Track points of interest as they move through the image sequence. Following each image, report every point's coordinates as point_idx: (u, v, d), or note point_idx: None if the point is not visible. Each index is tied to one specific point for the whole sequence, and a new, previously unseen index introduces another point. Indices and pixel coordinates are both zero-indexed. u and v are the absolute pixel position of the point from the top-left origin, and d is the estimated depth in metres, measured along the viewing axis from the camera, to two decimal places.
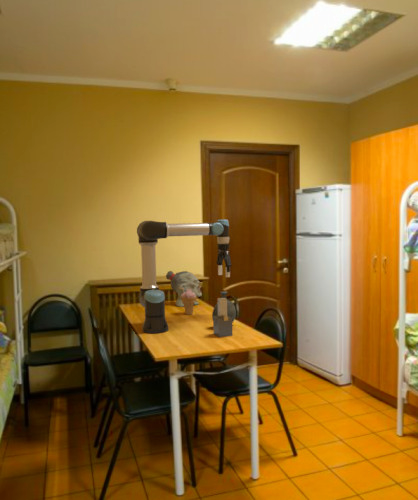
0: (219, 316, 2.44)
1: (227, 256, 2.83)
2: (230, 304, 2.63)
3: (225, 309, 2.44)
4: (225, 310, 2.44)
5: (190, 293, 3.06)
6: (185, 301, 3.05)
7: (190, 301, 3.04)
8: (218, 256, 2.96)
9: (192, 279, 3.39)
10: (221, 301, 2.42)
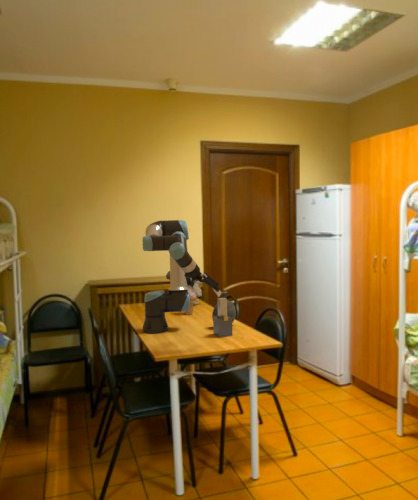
0: (219, 316, 2.44)
1: None
2: (230, 304, 2.63)
3: (225, 309, 2.44)
4: (225, 310, 2.44)
5: (190, 293, 3.06)
6: None
7: (190, 301, 3.04)
8: None
9: None
10: (221, 301, 2.42)
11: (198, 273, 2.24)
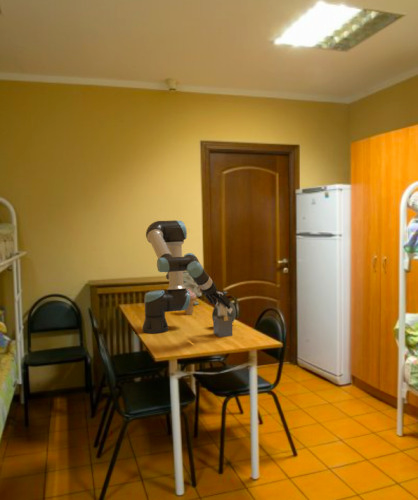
0: (219, 316, 2.44)
1: None
2: (230, 304, 2.63)
3: (225, 309, 2.44)
4: (225, 310, 2.44)
5: (190, 293, 3.06)
6: None
7: (190, 301, 3.04)
8: None
9: (192, 279, 3.39)
10: None
11: (214, 290, 2.34)
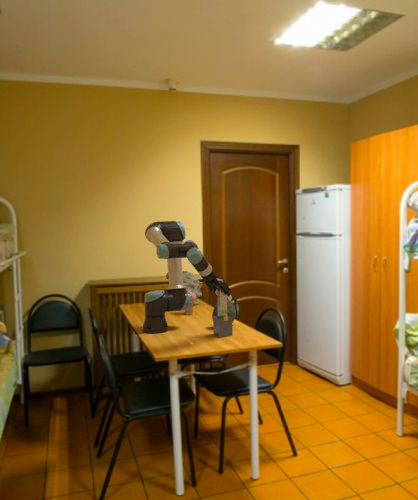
0: (219, 303, 2.44)
1: None
2: (230, 304, 2.63)
3: (225, 296, 2.43)
4: (225, 297, 2.43)
5: (190, 293, 3.06)
6: None
7: (190, 301, 3.04)
8: None
9: (192, 279, 3.39)
10: None
11: (214, 277, 2.33)
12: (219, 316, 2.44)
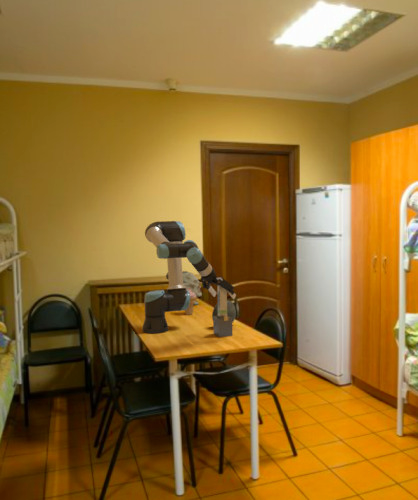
0: (219, 303, 2.44)
1: None
2: (230, 304, 2.63)
3: (225, 296, 2.43)
4: (225, 297, 2.43)
5: (190, 293, 3.06)
6: None
7: (190, 301, 3.04)
8: None
9: (192, 279, 3.39)
10: (221, 288, 2.42)
11: (214, 277, 2.33)
12: (219, 316, 2.44)
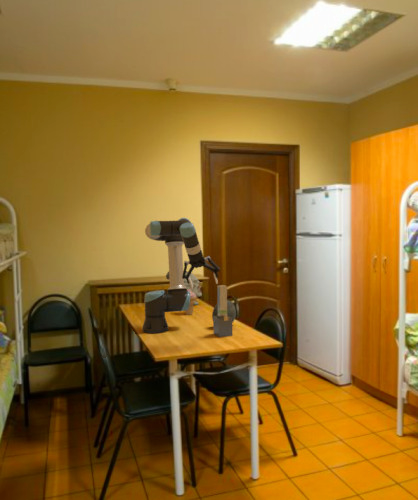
0: (219, 303, 2.44)
1: (184, 267, 2.34)
2: (230, 304, 2.63)
3: (225, 296, 2.43)
4: (225, 297, 2.43)
5: (190, 293, 3.06)
6: None
7: (190, 301, 3.04)
8: None
9: (192, 279, 3.39)
10: (221, 288, 2.42)
11: (202, 256, 2.29)
12: (219, 316, 2.44)
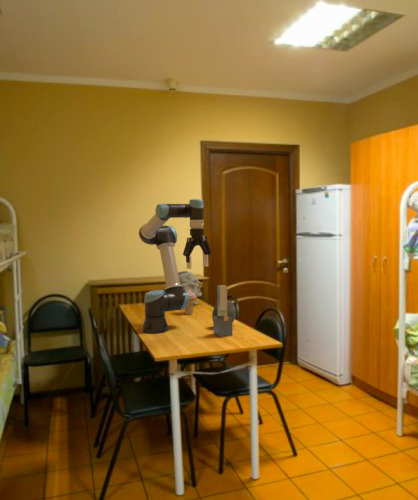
0: (219, 303, 2.44)
1: (187, 243, 2.35)
2: (230, 304, 2.63)
3: (225, 296, 2.43)
4: (225, 297, 2.43)
5: (190, 293, 3.06)
6: None
7: (190, 301, 3.04)
8: (203, 243, 2.46)
9: (192, 279, 3.39)
10: (221, 288, 2.42)
11: None
12: (219, 316, 2.44)
